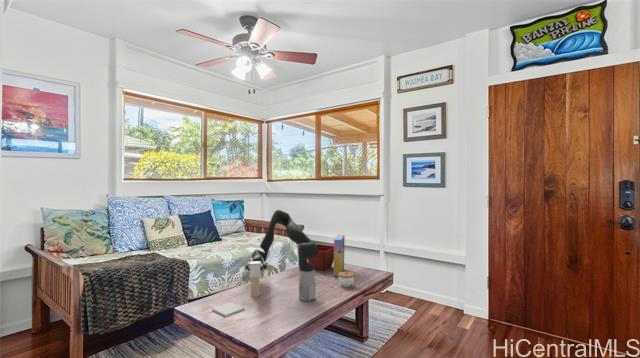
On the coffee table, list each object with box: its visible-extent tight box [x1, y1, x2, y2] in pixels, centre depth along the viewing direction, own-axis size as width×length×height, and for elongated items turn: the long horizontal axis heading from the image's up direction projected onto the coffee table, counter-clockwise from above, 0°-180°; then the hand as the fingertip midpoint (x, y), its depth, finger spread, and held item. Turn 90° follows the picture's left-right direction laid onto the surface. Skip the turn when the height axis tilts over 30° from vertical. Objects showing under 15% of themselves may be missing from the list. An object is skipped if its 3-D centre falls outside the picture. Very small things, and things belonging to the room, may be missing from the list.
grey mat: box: [211, 301, 245, 318], centre depth 166 cm, size 12×12×1 cm
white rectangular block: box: [249, 260, 262, 278], centre depth 188 cm, size 6×6×8 cm
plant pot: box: [307, 243, 334, 272], centre depth 248 cm, size 19×19×17 cm
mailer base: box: [250, 277, 260, 298], centre depth 188 cm, size 5×5×14 cm
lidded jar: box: [337, 270, 355, 288], centre depth 209 cm, size 11×11×9 cm
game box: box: [332, 234, 346, 277], centre depth 237 cm, size 21×6×27 cm, turn 168°
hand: (255, 269), depth 185 cm, fingers closed on white rectangular block, 6 cm apart
